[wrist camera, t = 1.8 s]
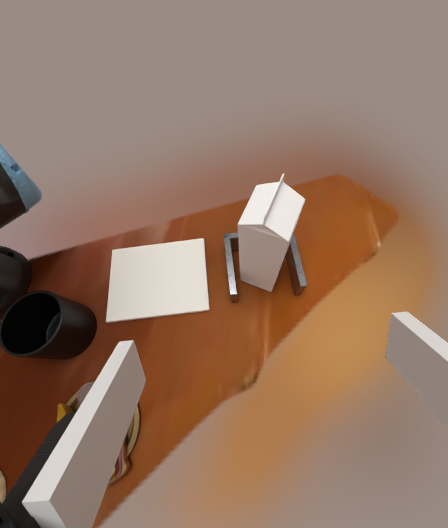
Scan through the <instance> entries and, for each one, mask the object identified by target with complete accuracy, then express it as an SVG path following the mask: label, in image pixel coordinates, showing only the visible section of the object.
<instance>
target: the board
mask: <svg viewBox="0 0 448 528" xmlns="http://www.w3.org/2000/svg"><path fill="white" fill-rule="evenodd" d="M204 311H210V306H209V294H208V281H207V268H206V256H205V243H204V238H202V239H194V240H186V241H178V242H170V243H163V244H155V245H147V246H139V247H131V248H123V249H116V250H112V261H111V272H110V283H109V295H108V306H107V317H106V322H108V323H112V322H120V321H128V320H137V319H145V318H154V317H162V316H171V315H179V314H187V313H196V312H204Z"/></svg>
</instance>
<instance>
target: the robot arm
mask: <svg viewBox="0 0 448 528" xmlns="http://www.w3.org/2000/svg"><path fill="white" fill-rule="evenodd" d="M41 198H42V193H41V191H40V189H39V188H38V187H37V186H36V184H35V183H34V182H33V181H32V180H31V179H30V178H29V176H28V175H27V174H26V173H25V172H24V171H23V170H22V169H21V167H20V166H19V165H18V164H17V163H16V162H15V161H14V159H13V158H12V157H11V156H10V155H9V154H8V152H7V151H6V150H5V149H4V148H3V147H2V146H1V144H0V228H2V227H3V226H5V225H7V224H8V223H10V222H11V221H13V220H14V219H16V218H17V217H19V216H21V215H22V214H24V213H27V212H28V211H29V209H30V208H31V207H32V206H34V205H35V204H37V203H38V202H39V201H40V200H41ZM30 278H31V268H30V265H29V262H28V260H27V259H26V258H25V257H24V256H23V255H22V254H20V253H18V252H16V251H14V250H12V249H10V248H7V247H3V246H0V318H1V317H2V316H3V315H4V314H5V312H6V311H7V309H8V308H9V307H10V306H11V305H12V304H13V303H14V302H15V301H16V300H17V299H18V298H20V297H22V296H23V295H24V294H25V292H26V290H27V288H28V286H29V283H30ZM385 357H386V359H387V360H388V361H389V362H390V363H391V364H392V365H393V367H394V368H395V369H396V370H397V371H398V373H399V374H400V375H401V376H402V377H403V378H404V379H405V381H406V382H407V383H408V384H409V385H410V386H411V388H412V389H413V390H414V391H415V392H416V393H417V394H418V396H419V397H420V398H421V399H422V400H423V401H424V403H425V404H426V405H427V406H428V407H429V408H430V409H431V411H432V412H433V413H434V414H435V415H436V416H437V418H438V419H439V420H440V421H441V422H442V423H443V425H444V426H445V427H446V428H447V429H448V343H447V342H446V341H444V340H443V339H442V338H441V337H439V336H438V335H437V334H435V333H434V332H433V331H431V330H430V329H429V328H428V327H426V326H425V325H424V324H422V323H421V322H420V321H419V320H417V319H416V318H415V317H413V316H412V315H411V314H410V313H408V312H398V313H391V319H390V326H389V333H388V341H387V348H386V355H385ZM145 382H146V378H145V375H144V372H143V369H142V366H141V362H140V359H139V356H138V353H137V349H136V346H135V343H134V340H130V341H121V342H119V343H118V345H117V346H116V348H115V350H114V351H113V353H112V354H111V356H110V358H109V359H108V361H107V363H106V364H105V366H104V368H103V369H102V371H101V373H100V374H99V376H98V378H97V379H96V381H95V382H94V384H93V386H92V387H91V389H90V391H89V392H88V394H87V396H86V397H85V399H84V401H83V402H82V404H81V406H80V407H79V409H78V410H77V412H76V413H71V414H66V415H65V416H64V417H63V418H62V419H61V420H60V421H59V422H58V423H57V424H55V425H54V426H53V428H52V429H51V431H50V432H49V434H48V435H47V437H46V438H45V440H44V443H43V444H41V446H40V447H39V449H38V450H37V452H36V453H35V457H33V458H32V459H31V461H30V462H29V464H28V465H27V467H26V468H25V470H24V472H23V473H22V475H21V476H20V478H19V479H18V481H17V482H16V484H15V485H14V487H13V488H12V490H11V491H10V493H9V494H8V496H7V497H6V499H5V500H4V502H3V503H1V502H0V528H92V526H93V523H94V521H95V518H96V515H97V512H98V510H99V507H100V504H101V502H102V499H103V496H104V493H105V491H106V488H107V485H108V483H109V480H110V477H111V474H112V472H113V469H114V466H115V464H116V461H117V458H118V455H119V453H120V450H121V447H122V445H123V442H124V439H125V436H126V434H127V431H128V428H129V425H130V423H131V420H132V417H133V415H134V412H135V409H136V406H137V404H138V401H139V398H140V396H141V393H142V390H143V387H144V385H145Z"/></svg>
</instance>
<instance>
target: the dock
mask: <svg viewBox="0 0 448 528" xmlns="http://www.w3.org/2000/svg"><path fill="white" fill-rule="evenodd" d="M223 235H224V243H225V252H226V260H227V269H228V278H229V286H230V295H231V300H232V302H238V301H237V291H236V284H235V276H234V268H233V260H232V252H231V251H236V250H239V241H238V232H236V233H228V234H223ZM286 259H287V263H288V268H289V272H290V277H291V281H292V286H293V290H294V294H295V295H299V294H301V293H302V292H303V290H304V289H305V288H306V286H307V283H306V279H305V275H304V271H303V267H302V263H301V259H300V255H299V251H298V247H297V243H296V239H295V235H294V232H293V235H292V238H291V241H290V244H289V246H288V249H287V252H286Z"/></svg>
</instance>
